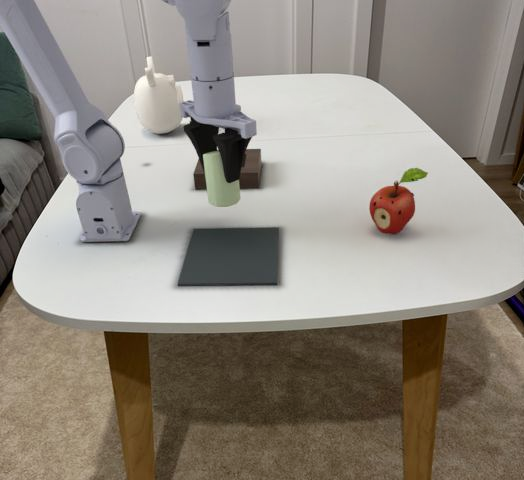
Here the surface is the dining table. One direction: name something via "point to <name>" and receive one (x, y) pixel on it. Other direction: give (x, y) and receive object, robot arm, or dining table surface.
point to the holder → (247, 175)
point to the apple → (395, 204)
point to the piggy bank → (157, 101)
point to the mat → (231, 257)
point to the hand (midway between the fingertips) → (221, 175)
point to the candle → (219, 182)
